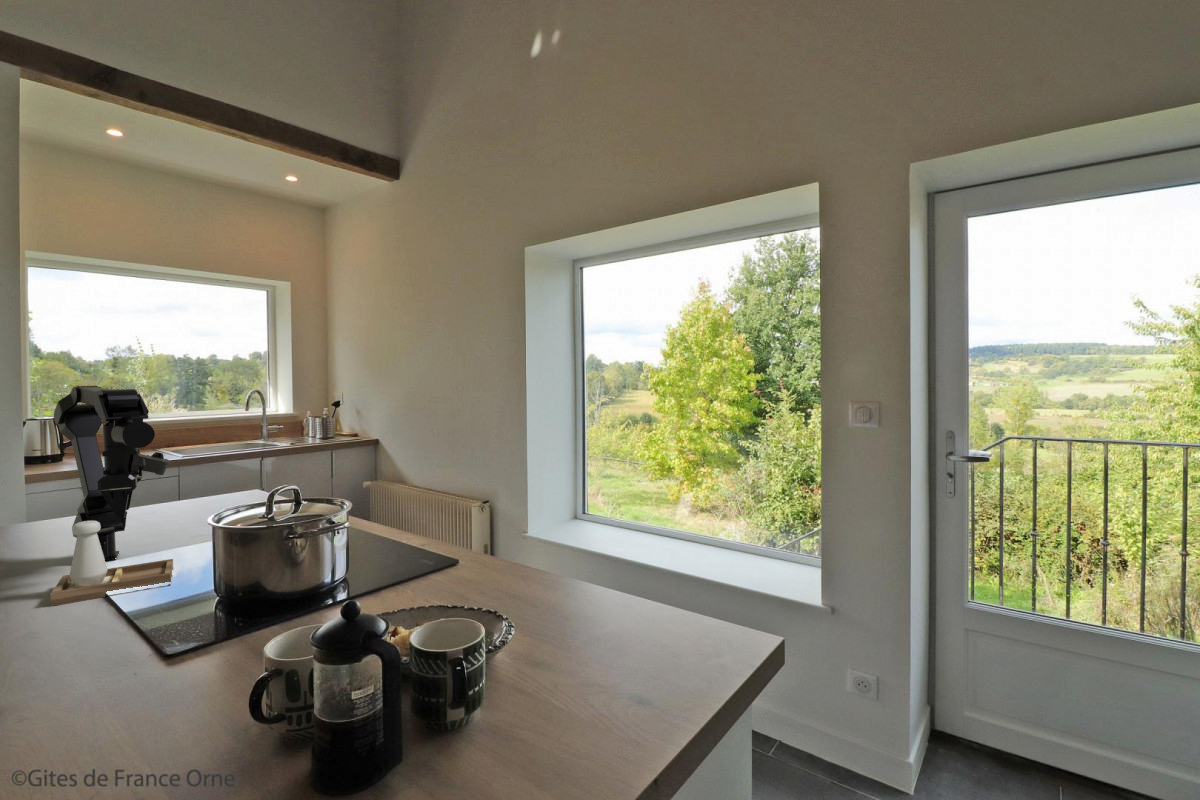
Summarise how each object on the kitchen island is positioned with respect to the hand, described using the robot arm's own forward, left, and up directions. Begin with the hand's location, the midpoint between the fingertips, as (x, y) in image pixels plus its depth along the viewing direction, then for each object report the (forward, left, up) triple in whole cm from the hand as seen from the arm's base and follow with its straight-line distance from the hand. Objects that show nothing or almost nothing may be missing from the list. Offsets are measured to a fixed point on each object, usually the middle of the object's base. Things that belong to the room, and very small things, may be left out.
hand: (123, 514), depth 128 cm
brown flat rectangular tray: (+11, 0, -13) cm, 17 cm away
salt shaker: (+11, -5, -12) cm, 17 cm away
